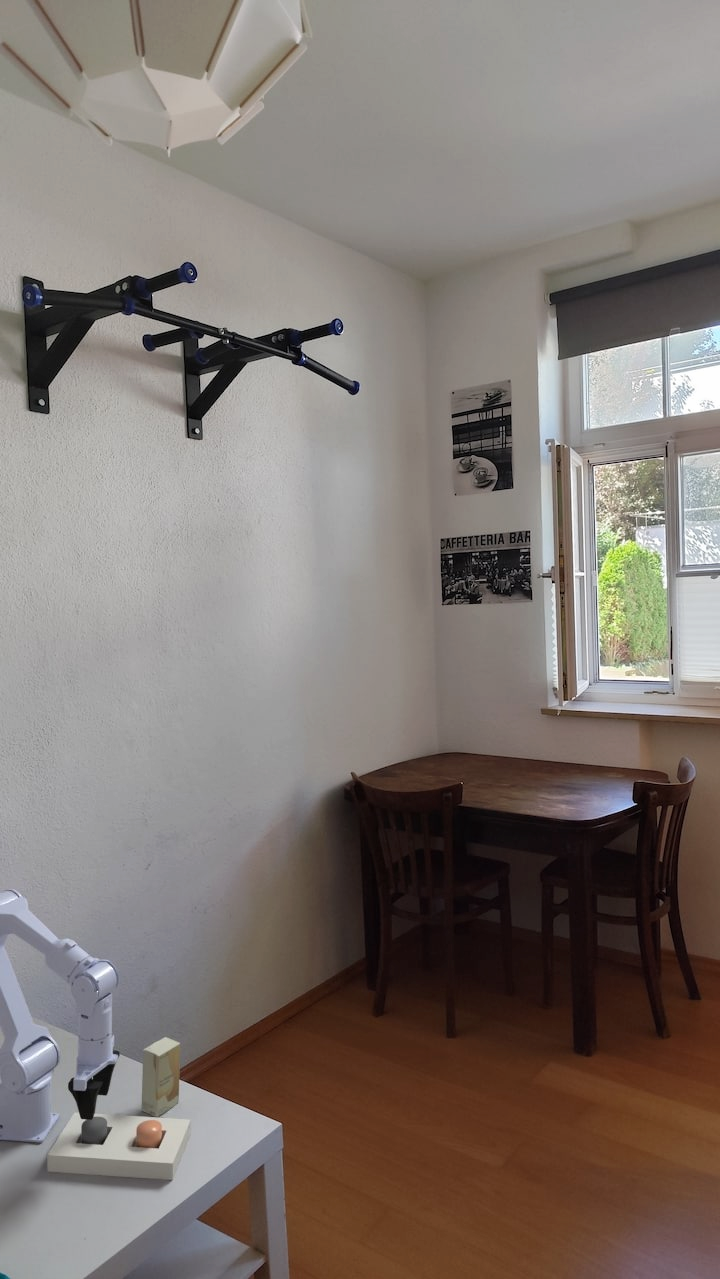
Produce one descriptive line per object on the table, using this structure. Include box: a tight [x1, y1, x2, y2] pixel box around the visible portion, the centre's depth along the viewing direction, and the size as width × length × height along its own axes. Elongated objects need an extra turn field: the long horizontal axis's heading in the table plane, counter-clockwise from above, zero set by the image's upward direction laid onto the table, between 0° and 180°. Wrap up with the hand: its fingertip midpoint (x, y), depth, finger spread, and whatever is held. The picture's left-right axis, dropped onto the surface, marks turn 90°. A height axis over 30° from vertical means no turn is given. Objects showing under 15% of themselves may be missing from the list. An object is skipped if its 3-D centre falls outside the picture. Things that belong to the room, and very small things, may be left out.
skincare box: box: [141, 1036, 181, 1118], centre depth 167 cm, size 6×4×12 cm
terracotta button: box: [136, 1120, 162, 1149], centre depth 153 cm, size 4×4×3 cm
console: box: [46, 1111, 192, 1181], centre depth 153 cm, size 22×12×3 cm, turn 87°
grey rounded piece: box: [81, 1117, 107, 1145], centre depth 153 cm, size 4×4×3 cm
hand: (94, 1105), depth 153 cm, fingers open, 6 cm apart
